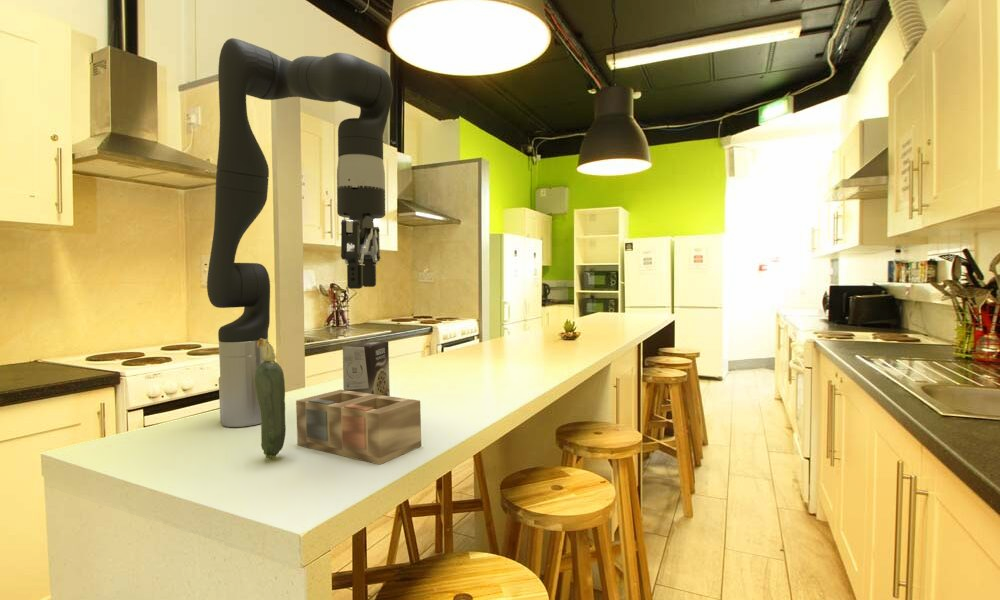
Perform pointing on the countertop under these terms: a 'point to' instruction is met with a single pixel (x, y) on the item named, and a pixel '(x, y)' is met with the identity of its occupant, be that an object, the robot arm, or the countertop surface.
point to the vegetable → (270, 401)
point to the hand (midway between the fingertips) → (362, 287)
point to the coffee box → (366, 367)
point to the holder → (359, 425)
